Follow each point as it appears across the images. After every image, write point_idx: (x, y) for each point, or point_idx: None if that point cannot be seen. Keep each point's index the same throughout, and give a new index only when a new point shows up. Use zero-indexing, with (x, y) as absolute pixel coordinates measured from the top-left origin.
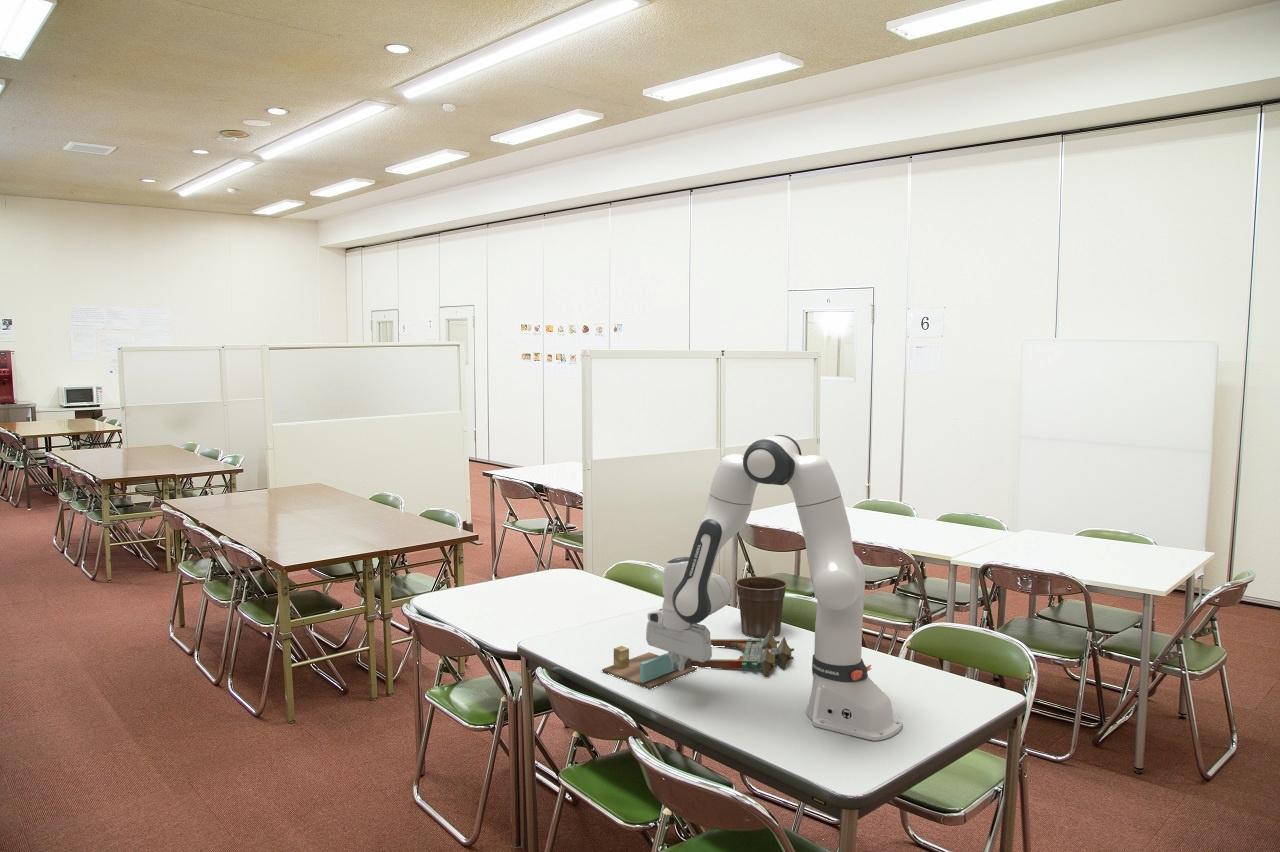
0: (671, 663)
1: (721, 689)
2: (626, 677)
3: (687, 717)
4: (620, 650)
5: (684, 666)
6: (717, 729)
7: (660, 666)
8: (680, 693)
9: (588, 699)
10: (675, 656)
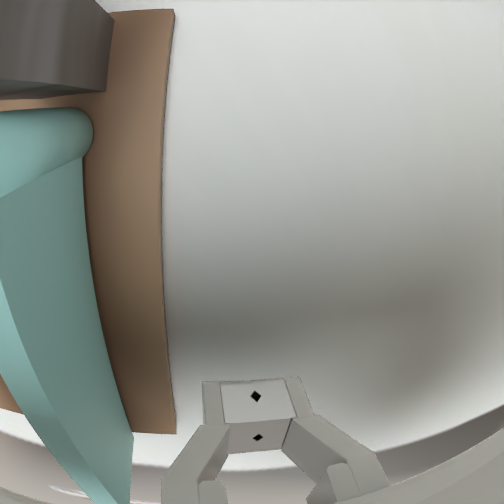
0: (64, 288)
1: (460, 207)
2: None
3: (401, 433)
4: None
5: (89, 90)
6: (467, 409)
7: (95, 403)
8: (313, 375)
9: None
10: (206, 468)
